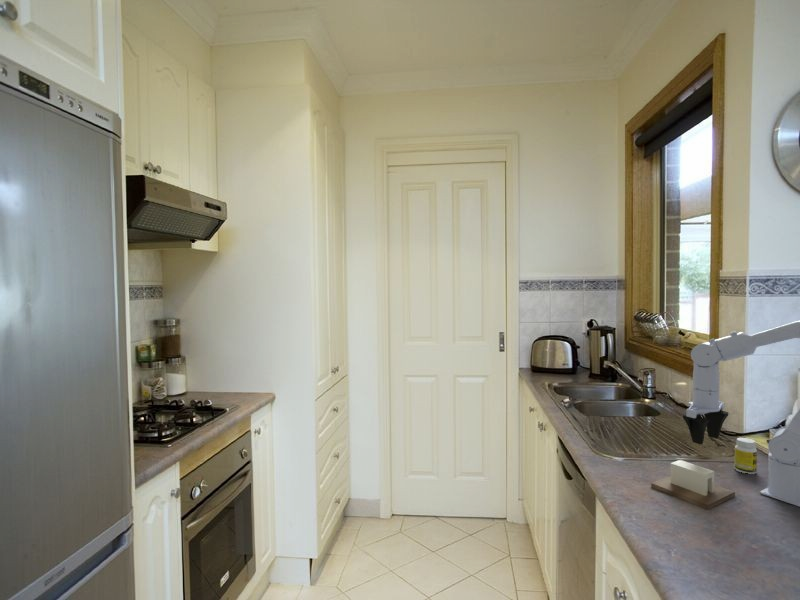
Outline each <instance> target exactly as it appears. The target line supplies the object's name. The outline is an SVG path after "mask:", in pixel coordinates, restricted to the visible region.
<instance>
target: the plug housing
mask: <svg viewBox="0 0 800 600" xmlns="http://www.w3.org/2000/svg"><path fill="white" fill-rule="evenodd" d="M670 475H671V483H672V484H675V485H677V486H680V487H683V488H685V489H688V490H691V491H693V492H696V493H699V494H701V495H704V496H706V495H707V492H708V491H709V492H711V493H713V492H714V485H715V471H714V470H711V469H709V468H706V467H703V466H699V465H697V464H693V463H690V462H688V461H685V460H682V459H678V460H676V461H672V462H670Z"/></svg>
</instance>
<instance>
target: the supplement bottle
mask: <svg viewBox="0 0 800 600" xmlns="http://www.w3.org/2000/svg"><path fill="white" fill-rule="evenodd" d="M756 447H757V445H756V441H755V439H751V438H747V437H737V438H736V445H735V446H734V470H735V469H736V470H735V471H737V472H738V473H741V472H742V474H745V473H748V474H747V475H755V473H756V474H757V471H758V470H757V469H758V468H757V466H758V465H757V464H758V451H757V448H756Z"/></svg>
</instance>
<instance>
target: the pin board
mask: <svg viewBox="0 0 800 600" xmlns="http://www.w3.org/2000/svg"><path fill="white" fill-rule="evenodd" d="M650 485H651V486H650V487H651V488H653V489H655V490H658V491H661V492H662V493H666V494H668V495H670V496H673V497H676V498H678V499H681V500H684V501H685V502H688V503H691V504H693V505H696V506H699V507H700V508H704V509H706V510H709V509H712V508H714V507H716V506H718V505H719V504H722V503H723V502H725V501H728V500H729V499H731V498H734V497H735V496H736V491H733V490H731V489H727V488H725V487H722V486H719V485H717V484H714V492H713V493H711V492H709V491H708V492H707V495H706V496H704V495H701V494H699V493H696V492H693V491H691V490H688V489H685V488H683V487H680V486H677V485H675V484H672V483H671V474H670V475H667V476H665V477H663V478H661V479H658V480H655V481H653V482H651V483H650Z"/></svg>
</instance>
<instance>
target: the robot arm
mask: <svg viewBox="0 0 800 600" xmlns="http://www.w3.org/2000/svg"><path fill="white" fill-rule="evenodd" d="M792 339H800V320H796V321H793V322H789V323H786V324H783V325H780V326H776V327H773V328H770V329H767V330H764V331H760V332H757V333H754V334H749V333H746V332H744V331H740V332H738V331H731V332H730V333H729V335H727V336H726V335H725V336H724V337H721V338H716V339H715V338H711V339H710V338H709V340H708V341H709V342H708V341H706V342H702V343H699V344H697V345H695V346H694V347H693V348H692V349H691V350H690V358H691V361H692V362H693V371H692V401H689V402H687V405H688V406H689V407H688V408H686V411H685V412H686V413H683V414H682V418H683V420H684V421H685V423H686V426H687V427H688V430H689V434H690V437H691V441H692V443H694V444H698V445H703V443H704V440H705V432H707V436H708V438H711V439H716V440H718V439H719V438H720V437H719V436H720V434H721V429H723V428H722V427H723V425H724V423H725V422H726V421H725V420H726V419H727V418H728V417H729V412H728V411H725V402H724V401H720V377H721V376H720V374H721V373H720V363H719V362H720V361H721V362H728V361H730V360H735V359H739V358H743V357H747V356H751V355H754V353H755V352H756V349H757V348H759V347H763V346H767V345H771V344H776V343H781V342H783V341H784V342H786V341H788V340H792ZM703 416H704V417H703ZM767 444H768V445H767V447H768V451H769V453H768V456H767V457H768V461H767V462H768V464H767V468H768V470H767V487H766V488H764V489H762V490H760V492H759V493H760V494H761V495H764V496H767V497H770V498H773V499H776V500H779V501H782V502H785V503H788V504H791V505H792V506H793V505H794V506H796V507H799V508H800V407H799V408H798V410H797V411H796V412H795V414H794V415H793V416H792V418H791V419H790V420H789V421H788V423H787V424H786V425H784V426H782V427H779V428H777V430H775V432H774V434H773V437H772V438H771V439H769V441H768V443H767Z"/></svg>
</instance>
